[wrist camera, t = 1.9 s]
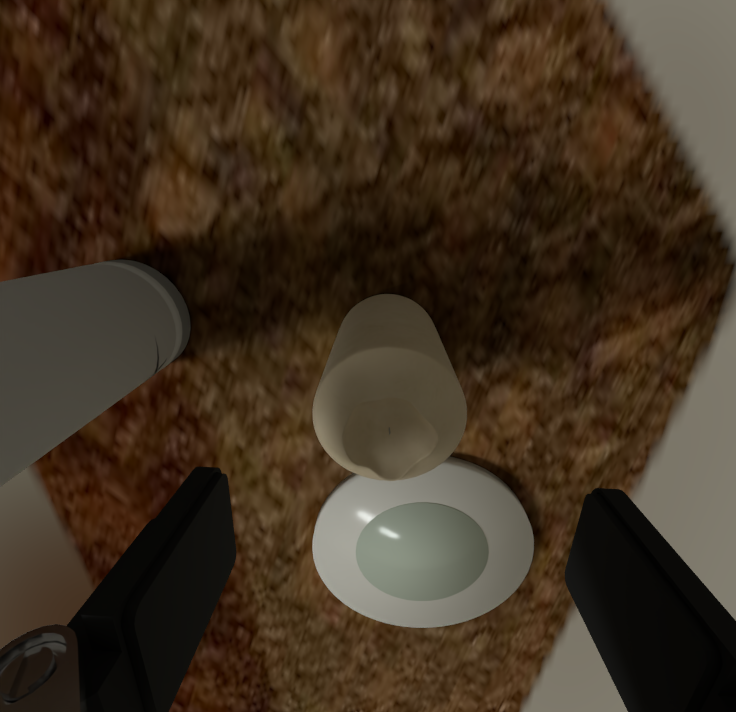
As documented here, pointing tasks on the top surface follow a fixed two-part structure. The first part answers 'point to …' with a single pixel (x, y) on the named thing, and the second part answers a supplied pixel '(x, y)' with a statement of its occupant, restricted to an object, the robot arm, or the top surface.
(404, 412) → the candle
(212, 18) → the top surface
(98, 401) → the travel mug
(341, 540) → the ceramic plate
